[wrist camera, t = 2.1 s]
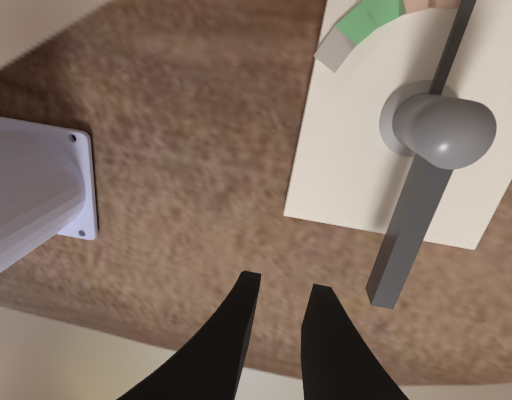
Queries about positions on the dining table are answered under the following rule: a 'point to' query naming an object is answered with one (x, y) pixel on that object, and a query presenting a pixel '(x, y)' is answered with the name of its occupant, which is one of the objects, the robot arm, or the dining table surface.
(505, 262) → the dining table surface
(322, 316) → the robot arm
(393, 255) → the grey dial pointer
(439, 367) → the dining table surface
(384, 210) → the board
